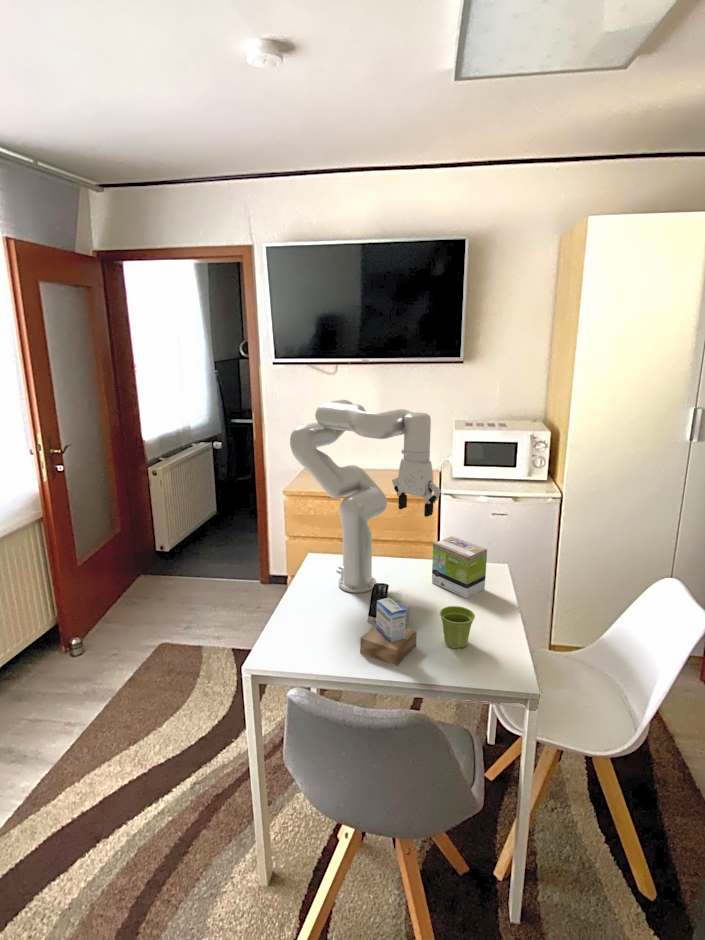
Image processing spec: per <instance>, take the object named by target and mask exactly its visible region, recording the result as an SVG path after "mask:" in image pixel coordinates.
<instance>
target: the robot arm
mask: <svg viewBox="0 0 705 940" xmlns="http://www.w3.org/2000/svg"><path fill="white" fill-rule="evenodd" d="M431 418H432V417H431V415H429V414H428V413H426V412H413V411H410V410H407V409H404V408H403V409H402V408H399V409H393V410H392V409H391V410H388V411H384V412H370V411H366V409H365V407H364V406H362V405H361V404H353V402H351V401H350V400H347V399H338V400H331V401H327V402H324V403H322V404H320V405H319V406H318V407H317V408H316V411H315V422H310V423H305V424H303V425H299V426H297V427H296V428H294V430H292V432H291V433H290V436H289V437H290V438H289V445H290V449H291V453H292V455H293V456H294V458H295V459H296V461H297V462H298V463H299V464H300V465H301V466H302V467H303V468H304V469H306V470H307V471H308V472H309V473H310V475H311V476H312V477H313V479H314V480H315V481H316V482H317V484H319V486H320V487H321V488H322V489H323V490H324V491H325V493H327V495H328V496H329V497H331V498H332V499H341V498H344V499H342V501H341V502H340V505H339V508H338V510H339V515H340V516H339V517H340V520H341V521H340V522H341V528H342V529H341V530H342V564H341V565H339V566H338V568H337V569H336V573H337V574H339V575H340V578H339V580H338V587H339V588H340V589H341V590H343V591H345V592H348V593H353V594H355V593H359V594H360V593H367V592H370V591H372V590H373V589H372V588H373V586H374V584H376V585H377V580H376V578H375V577H373V575H372V574H373V573H372V571H373V564H372V563H373V562H372V559H373V557H372V555H373V554H372V553H373V549H372V547H373V542H372V541H373V540H372V539H373V536H372V530H371V528H370V526H369V522H368V521H369V520H371V519H372V518H375V517H378V516H379V515H381V514H382V513H384V512H385V511H386V510H387V506H388V500H387V496H386V495H385V492H384V491H383V490H382V489H381V488H380V487H379V486H378V484H377V483H376V482H375V481H374V480H373V479H372V477H371V476H370V475H369V474H368V473H367V471H365V470H364V469H363V468H361V467H359V466H357V465H354V464H350V465H346V466H345V465H344V466H342V467H341V466H339V465H337V463H336V462H335V461H334V460H333V458H331V456H329V455H328V454H326V453H325V452H323V451H321V450H319V448H322V447H325V446H330V445H332V444H334V443H335V442H336V441H338V440H339V438H340V437H341V436H342V435H343V434H344V433H345V432H352V433H354V434H356V435H358V436H360V437H364V438H371V439H378V440H385V439H386V440H387V439H389V438H393V437H398V436H402V435H403V449H402V450H401V451H400V452H401V454H403V458H401V460H400V464H399V468H398V477H396V478H394V479H391V480H392V481H391V482H392V485H393V488H394V491H395V492H396V496H397V497H398V510H402V509H405V508H407V506H408V495H411V496H415V497H418V498H423V499H424V500H425V502H426V503H424V508H423V510H424V513H423V515H424V517H426V518H427V517H429V516H432V515H433V513H434V503H435V502H436V501H437V500H438V499H439V498H440V495H441V494H442V490H441V489H440V487H438V486H437V485H436V484H435V483H434V473H433V464H432V461H431V459H430V458H431V432H432V431H431V428H432V427H431V426H432V423H431V422H432V421H431V420H432V419H431Z"/></svg>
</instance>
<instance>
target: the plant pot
mask: <svg viewBox="0 0 705 940" xmlns="http://www.w3.org/2000/svg"><path fill="white" fill-rule="evenodd" d="M439 616H440V619H441V622H442V630H443V631H442V632H443V641H444V643H445V644H446V646H447V647H449V648H453V649H459V648H465V647H466V646H467V645H468V641H469V636H470V632H471V628H472V624H473V622H474V620H475V618H476V614H475V612H474V611H473V610H471V609H469V608H468V607H463V606H459V605H451V606H450V605H449V606H445V607H442V608H441V609H440V610H439Z"/></svg>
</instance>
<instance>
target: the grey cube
mask: <svg viewBox="0 0 705 940" xmlns="http://www.w3.org/2000/svg"><path fill="white" fill-rule="evenodd" d="M398 604H399V605H400V606H401V607H403V608H404V609H405V610H406V624H405V627H406V626H407V625H408V624H409V623H410V621H411V619H410V618H411V617H410V616H411V615H410V614H411V613H410V610H411V607H410V606H409V605H406V604H401V603H398Z"/></svg>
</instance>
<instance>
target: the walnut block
mask: <svg viewBox="0 0 705 940" xmlns="http://www.w3.org/2000/svg"><path fill="white" fill-rule="evenodd" d="M417 632H418V631H417V630H414V629H411V628H407V627H405V639H402V640H399V641H395V642H390V641H389V640H388V639H387V638H386V637H385V636H384V635H382V634H381V633H380V632H379V631H378V630H377V629H376V624H375V625H374V626H372V627H371V628H370V629H369V630H367V632H366V633H364V634H363V635H362V636H361V637H360V639H359V642H360V643H359V644H360V645H359V649H360V650H359V651H360V653H359V654H362V655H364V656H367V657H369V658H372V659H374V660H378V661H381V662H384V663H387V664H390V665H392V666H396V667H398V666H399V664H400V663H402V661H404V660H405V659H406V657H407V656H408V655H409V654H410V653H411V652H413V650H414V649H415V648H416V647H417Z"/></svg>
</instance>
